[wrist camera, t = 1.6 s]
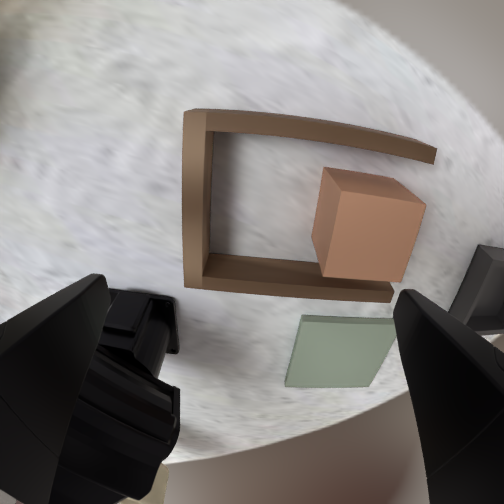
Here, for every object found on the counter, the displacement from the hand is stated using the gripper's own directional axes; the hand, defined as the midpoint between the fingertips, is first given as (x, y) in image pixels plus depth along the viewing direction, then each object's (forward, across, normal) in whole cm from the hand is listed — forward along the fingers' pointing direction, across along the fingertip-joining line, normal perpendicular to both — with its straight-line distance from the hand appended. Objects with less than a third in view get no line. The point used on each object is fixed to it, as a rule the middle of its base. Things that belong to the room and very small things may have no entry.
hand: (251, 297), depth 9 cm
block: (+12, -6, +2) cm, 14 cm away
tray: (+12, -23, +8) cm, 27 cm away
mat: (+12, -8, +16) cm, 21 cm away
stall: (+12, -3, +2) cm, 13 cm away
